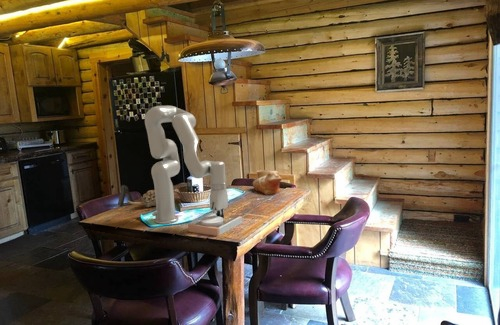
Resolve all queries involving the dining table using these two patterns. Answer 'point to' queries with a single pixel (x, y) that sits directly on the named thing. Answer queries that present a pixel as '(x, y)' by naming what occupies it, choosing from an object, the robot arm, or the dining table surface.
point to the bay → (215, 231)
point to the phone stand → (122, 196)
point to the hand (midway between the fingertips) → (220, 222)
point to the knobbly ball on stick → (147, 199)
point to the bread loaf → (267, 182)
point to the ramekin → (212, 221)
